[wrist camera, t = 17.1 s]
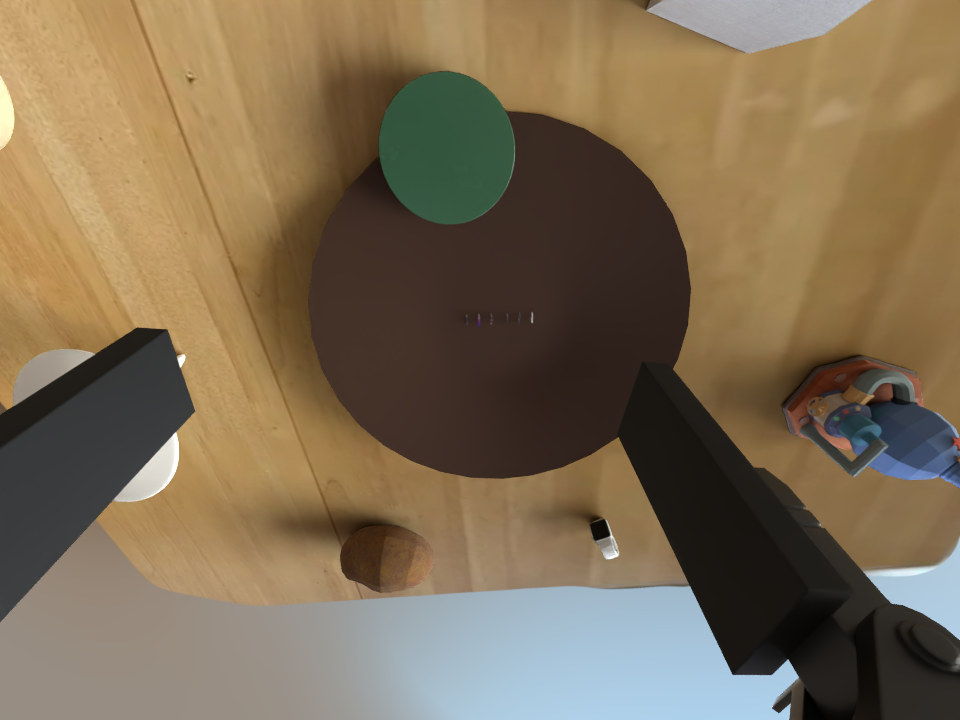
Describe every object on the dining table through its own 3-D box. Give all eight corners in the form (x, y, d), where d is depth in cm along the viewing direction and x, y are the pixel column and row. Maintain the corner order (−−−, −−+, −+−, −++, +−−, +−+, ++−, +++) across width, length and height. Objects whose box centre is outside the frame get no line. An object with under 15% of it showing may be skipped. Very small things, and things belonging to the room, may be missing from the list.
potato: (343, 511, 43) (326, 566, 38) (436, 513, 43) (431, 568, 38) (350, 550, 46) (334, 606, 41) (435, 551, 47) (431, 606, 41)
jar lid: (424, 239, 28) (421, 246, 27) (357, 118, 25) (349, 118, 23) (531, 183, 27) (535, 188, 25) (477, 45, 23) (478, 39, 21)
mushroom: (83, 340, 32) (-101, 443, 22) (175, 271, 29) (17, 352, 19) (191, 426, 37) (82, 545, 26) (279, 374, 34) (197, 483, 24)
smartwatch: (613, 529, 46) (625, 562, 42) (595, 535, 46) (605, 568, 43) (603, 510, 44) (614, 543, 41) (584, 516, 44) (594, 549, 41)
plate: (723, 105, 25) (760, 102, 22) (642, 444, 39) (657, 472, 36) (271, 116, 25) (242, 115, 22) (353, 455, 39) (344, 484, 36)
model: (940, 380, 36) (1074, 452, 28) (862, 453, 41) (959, 534, 33) (834, 345, 34) (946, 412, 26) (764, 426, 38) (841, 505, 30)
